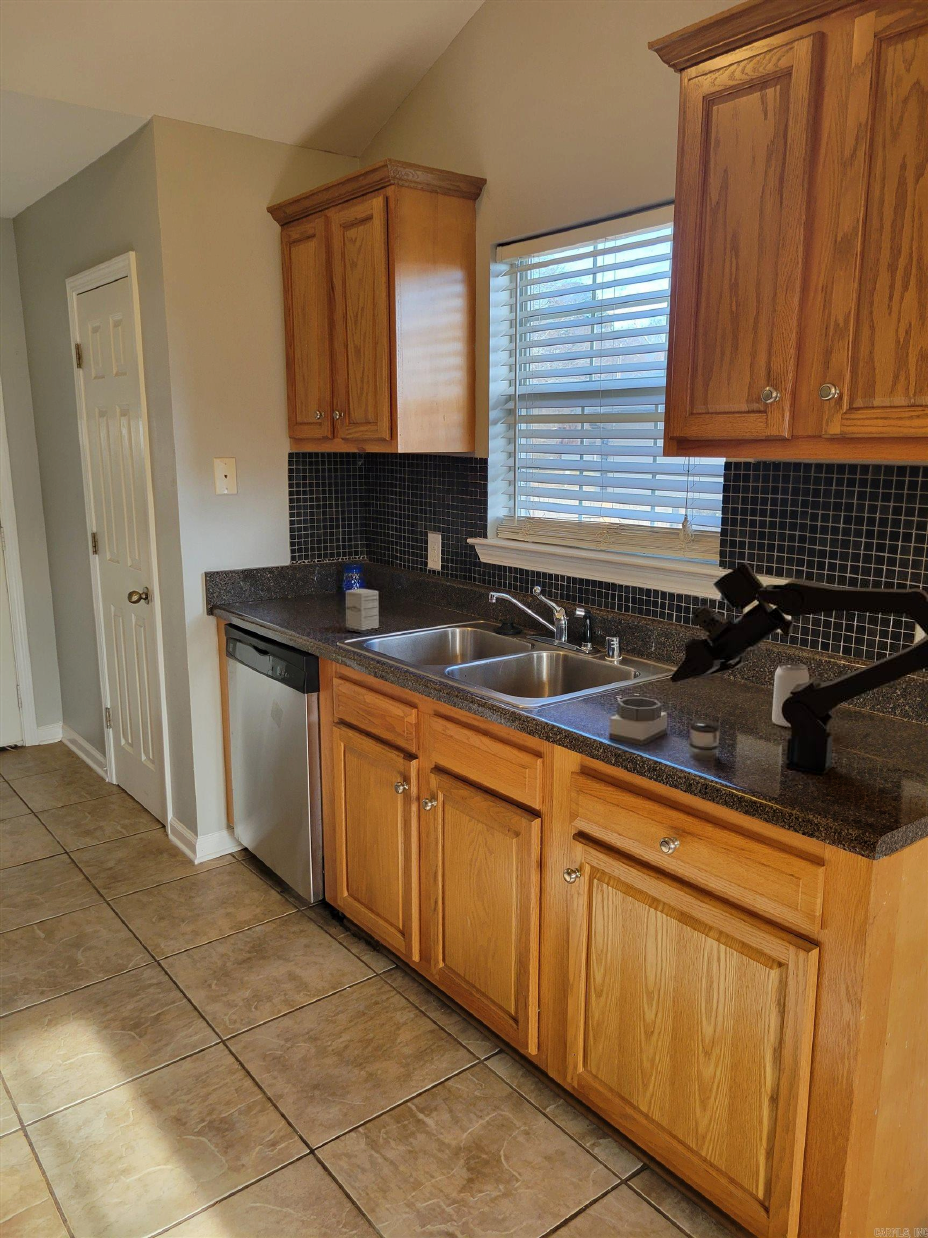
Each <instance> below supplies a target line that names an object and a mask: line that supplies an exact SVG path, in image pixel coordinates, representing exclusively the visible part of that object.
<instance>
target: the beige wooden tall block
mask: <svg viewBox="0 0 928 1238" xmlns="http://www.w3.org/2000/svg"><path fill="white" fill-rule="evenodd" d="M379 625H380V623H379V591H378V590H374V589H368V588H356V589H349V590H348V589H347V590H346V591H345V628H346V627H349V628H354V629H359V630H366V629H371V628H378V627H380V626H379Z"/></svg>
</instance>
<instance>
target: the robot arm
mask: <svg viewBox="0 0 928 1238" xmlns="http://www.w3.org/2000/svg"><path fill="white" fill-rule="evenodd" d="M712 584H713V586H714V587H715V589H716V590H717V592H718V593H719V594H720V595H721V596H722V597H723V599H724V600H725V601H726V603H727V604H728V605H729V606H730V608H731V609H732V610H734V609H736V610H738V609H739V610H740V612H741V611H744V610H745V609H746V608H747V607H748V606H750V605H752V604H753V603H754V602H756V601H757V603H756V604H755V605H754V606H753V607H751V608H749V610H747V611H745V612H744V613H743V614H741V615H740V616H739V617H737V618H736V619H733V620H732V619H727V618H726V617H724V616H723V615H722V614H721V613H718V612H717V611H715V610H714V609H713V608H711V607H710V606H708V605H698V607H697V608H696V609H695V610H693V611H692V612H691V614H692V617H690V620H689V621H690V623H692V624H693V625H697V626H698V627H700V628H701V629H702V630H703V631H705V632H706V633H708V634H707V635H706V638H704V637H692V638H691V639H690V640H688V641H687V642H686V643H684V652H685V658H684V659H683V660H682V662H681V663H680V665H678V667H677V668H676V669H675V670H674V672H673V674H672V675H670V676H669V677H670V678H669V679H670V681H671V682H672V684H675V683H678V682H683V681H687V680H695V679H699V678H703V677H708V676H711V675H715V674H720V673H723V672H727V671H732V670H734V669H738V668H740V667H742V666H743V665H745V664H747V662H748V656H749V655H748V653H747V652H749V651H750V650H755V649H757V648H758V647H759V644H760V643H762V642H763V641H765V640H766V639H768V638H769V637H771V635H773V634H774V633H776V632H777V631H778V630H779V631H780V632H781V634H783V635H784V637H786V638H787V637H789V636H790V635H792V634H793V626H794V623H795V620H794V619H793V618H792V619H791V618H790V619H789V618H787V617H786V616H788V617H798V616H799V617H800V616H801V617H802V616H808V615H809V616H810V615H815V614H820V613H825V612H826V613H827V612H855V613H873V614H875V613H878V614H880V613H881V614H900V615H908V616H909V617H910V618H911V619H912V620H913V621H914V622H915V623H916V624H917V625H918V627H919V628H920V629H921V630H922V632H923V633H924V634H925V635H924V636H923V637H921V638H920V639H919V640H918V641H917V642H915V643H913V644H912V645H911V646H909V647H907V648H904V649H902V650H900V651H898V652H895V653H892V654H890V655H889V656H887V657H883V658H882V659H880V660H878V661H875V662H873V663H870V664H868V665H866V666H863V667H861V668H858V669H856V670H854V671H851V672H850V673H847V674H844V675H843V676H841V677H839V678H836V679H834V680H829V681H823V682H821V681H820V679H819V676H818V675H816V676H814V677H813V678H811V679H809V681H808V682H806V683H803V684H797V685H796V686H795V687H794V688H793V689H792V691H791V692H790V695H789V696H788V697H787V699H786V700H785V701H784V702H783V705H782V715H783V718H784V719H785V720H786V721H787V722H788V723H789V724H790V725H791V731H790V732H791V733H790V736H789V738H787V743H786V744H787V745H786V757H785V758H786V763H785V768H789V769H793V770H797V771H803V772H808V773H811V774H817V775H825V774H826V773H827V772H828V771H829V770H830V769H832V768H833V767H834V766H835V762H833V761H832V752H833V742H834V734H833V733H831V732H829V730H830V728H831V726H832V724H833V723H834V720H835V717H834V716H833V715H832V714H831V713H830V712H831V711H832V710H833V709H835V708H836V707H838V706H839V705H841V704H843V703H845V702H847V701H849V700H852V699H855V698H857V697H860V696H862V695H864V694H866V693H869V692H871V691H874V690H876V689H878V688H880V687H883V686H885V685H888V684H891V683H893V682H895V681H897V680H900V679H902V678H904V677H906V676H909V675H911V674H914V673H916V672H918V671H921V670H926V669H928V593H927V591H926V590H923V589H921V588H911V589H909V588H908V589H899V588H870V587H840V586H839V587H837V586H833V585H828V584H824V583H821V582H817V581H812V580H807V579H802V578H795V579H791V580H788V581H787V582H786V583H784V584H773V583H771V584H766V585H764V584H763V583H762V582H761V580H760V579H759V578H758V577H757V575H756V574H755V573H754V571H753V569H752V567H751V566H750V565H749V563H748V562H745V561H744V562H742V563H741V564H740V565H738V566H737V567H735V568H733V570H731V571H729V572H727V573H725V574H723V575H722V576H721V577H720V578H718V579H717V580H716V581H715V582H714V583H712ZM773 606H775V607H773ZM710 642H711V643H710Z"/></svg>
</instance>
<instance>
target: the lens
mask: <svg viewBox="0 0 928 1238" xmlns="http://www.w3.org/2000/svg"><path fill="white" fill-rule="evenodd" d="M689 728H690V729H689V730H690V733H689V748H688V749H689V757H690V758H693V759H694V760H698V761H699V760H700V761H715V760H717V759H718V757H719V756H718V755H719V748H720V747H719V745H720V744H719V743H720V741H719V739H720V738H719V737H720V730H721V724H720V723H719V722H716V721H713V720H709V719H708V720H707V719H696V720H695V719H694V720H692V721H690V724H689Z"/></svg>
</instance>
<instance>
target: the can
mask: <svg viewBox="0 0 928 1238" xmlns="http://www.w3.org/2000/svg"><path fill="white" fill-rule="evenodd" d="M808 681H810V674H809V671H808V666H807V665H805V664H801V663H798V662H797V663H795V662H782V663H778V664H777V669H776V670H775V673H774V685H773V700H772V716H771V717H772V719H771V721H772V722H773V723H774V725H776V726H779V727H782V726H783V727H784V728H791V725H790V724H789V723H788V722H787V721H786V720H785V719H784V718H783V715H782V705H783V702H784V701H785V700H786V699H787V697H788V696H789V695H790V692H791V691H792V689H793V688H794V687H795V686H796V685H797V684H803V683H806V682H808Z"/></svg>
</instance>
